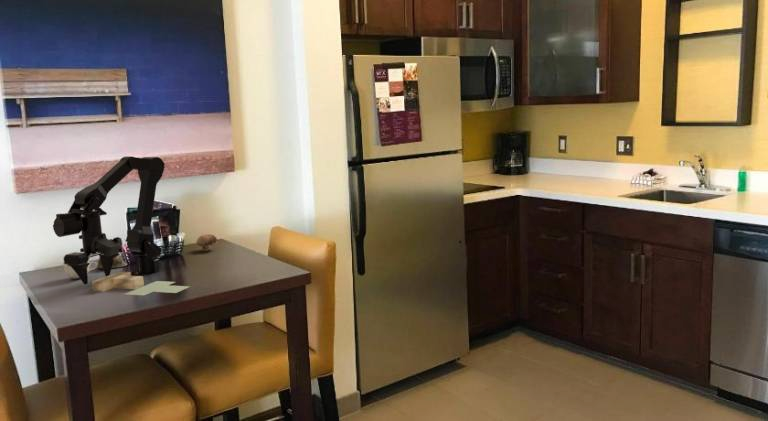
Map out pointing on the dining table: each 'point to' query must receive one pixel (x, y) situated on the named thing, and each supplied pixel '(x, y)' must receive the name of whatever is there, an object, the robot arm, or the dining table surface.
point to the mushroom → (206, 241)
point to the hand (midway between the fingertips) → (96, 280)
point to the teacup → (72, 273)
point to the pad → (157, 288)
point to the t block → (118, 282)
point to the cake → (116, 262)
